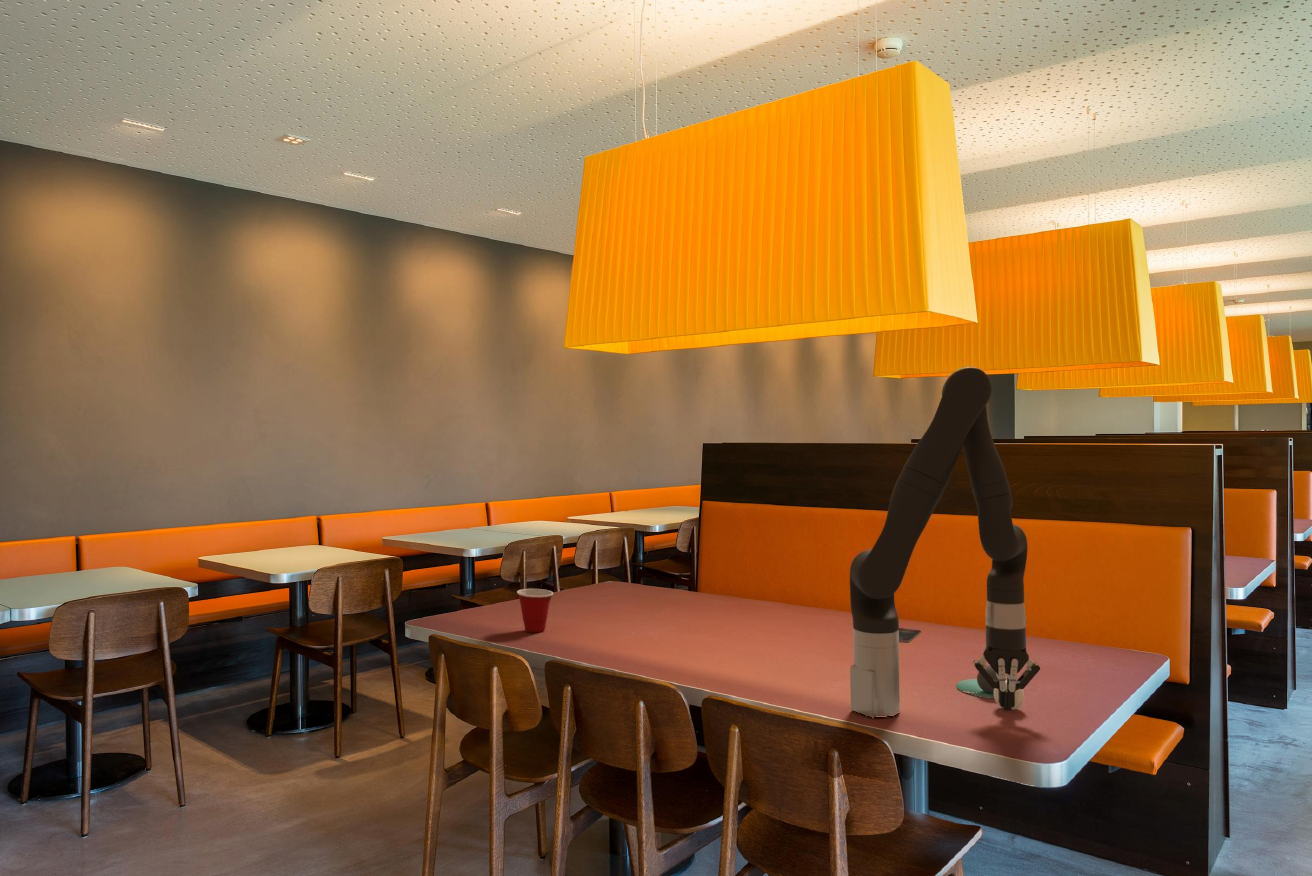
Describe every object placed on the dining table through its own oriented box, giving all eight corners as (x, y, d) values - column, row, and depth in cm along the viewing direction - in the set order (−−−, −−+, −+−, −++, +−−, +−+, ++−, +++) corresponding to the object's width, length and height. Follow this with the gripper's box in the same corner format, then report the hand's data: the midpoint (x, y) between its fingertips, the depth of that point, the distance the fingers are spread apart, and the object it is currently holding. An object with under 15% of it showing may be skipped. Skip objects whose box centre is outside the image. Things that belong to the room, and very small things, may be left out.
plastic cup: (551, 635, 245) (550, 594, 245) (514, 635, 245) (513, 594, 245) (556, 626, 256) (555, 587, 256) (521, 626, 256) (520, 587, 256)
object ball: (993, 664, 182) (988, 657, 188) (973, 683, 183) (968, 675, 189) (1015, 684, 182) (1008, 676, 187) (994, 703, 182) (989, 695, 188)
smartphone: (922, 630, 243) (908, 641, 230) (922, 633, 243) (908, 644, 230) (896, 627, 247) (881, 638, 234) (896, 630, 247) (881, 641, 234)
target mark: (997, 703, 179) (997, 702, 179) (942, 686, 191) (942, 686, 191) (1036, 691, 187) (1036, 690, 187) (981, 676, 198) (981, 675, 198)
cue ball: (1014, 670, 175) (1010, 686, 179) (989, 680, 175) (985, 695, 179) (1033, 694, 171) (1028, 709, 175) (1007, 704, 170) (1002, 719, 174)
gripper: (1036, 620, 172) (1037, 704, 172) (968, 618, 175) (969, 701, 175) (1045, 628, 165) (1046, 716, 165) (974, 626, 167) (975, 713, 168)
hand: (1006, 708), depth 170 cm, fingers closed
